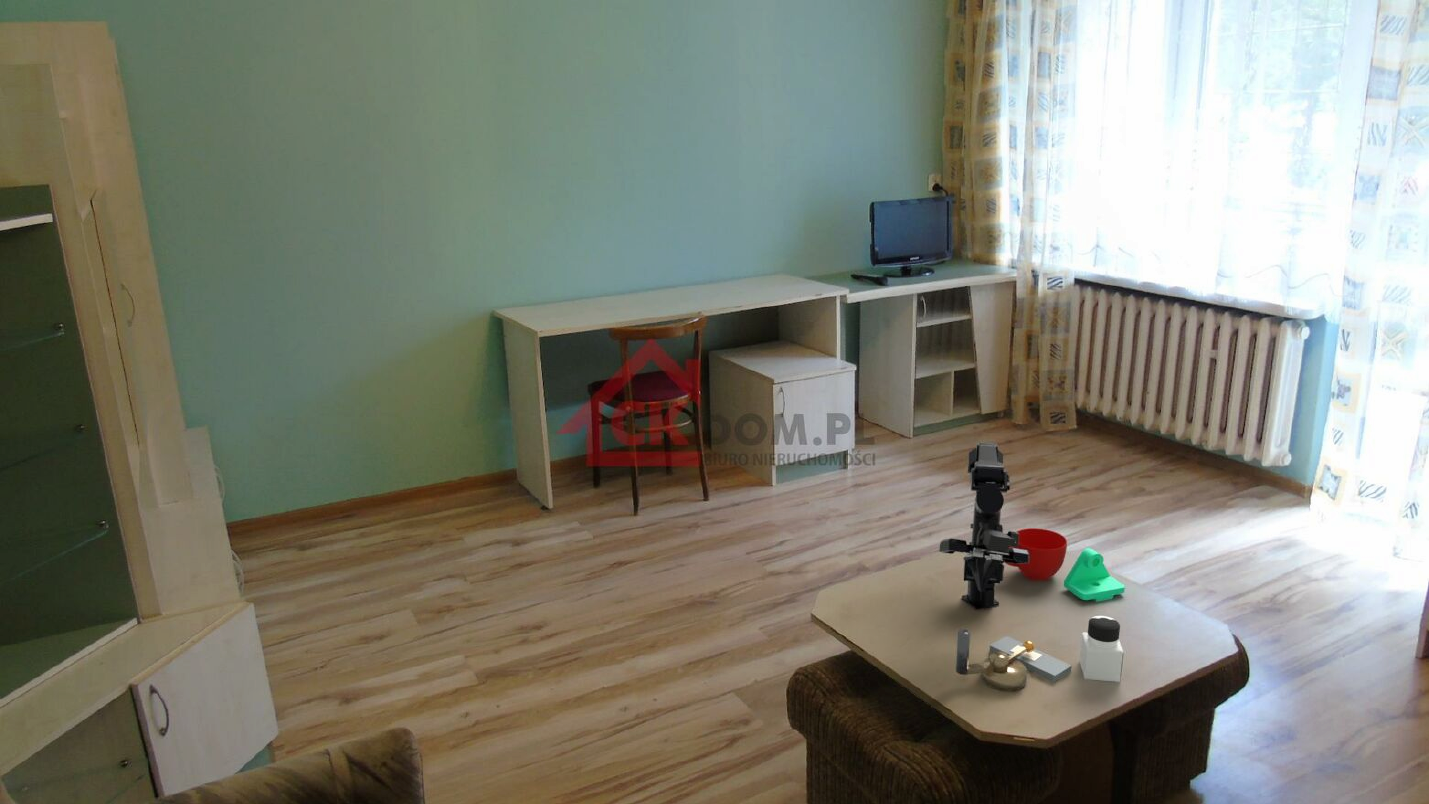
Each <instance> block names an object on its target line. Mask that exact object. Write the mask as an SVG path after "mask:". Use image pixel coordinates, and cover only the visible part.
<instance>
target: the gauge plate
mask: <svg viewBox="0 0 1429 804" xmlns="http://www.w3.org/2000/svg"><path fill="white" fill-rule="evenodd" d="M1023 644H1024V642H1022V641H1018V640H1017V639H1014V638H1013V637H1010V636H1008V635H1006V636H1004V637H1002V638H1000V639H999V640H997V641H995V642H993V643H992V644H990V645H989V652H991V653H992V652H995V651H1001V652H1004V653H1006V654H1008V656H1010V655H1011V654H1013V653H1015V652H1016V651H1018V650H1019V649H1021V648H1022V647H1023ZM1015 660H1018V661H1020V662H1021V663H1022V664H1024V665H1025V667H1026V668H1027V671H1029V672H1032V673H1034V674H1036V675H1039V676H1041V677H1042V678H1045V679H1047V680H1049V681H1051V682H1052V683H1056V682H1058V681H1059V680H1060V679H1063V678H1064V677H1065V676H1067V675H1068V674H1070V673H1072V665H1071V664H1069V663H1067V662H1065V661H1062V660H1061V659H1058V658H1056V657H1053V656H1051V655H1050V654H1047V653H1045V652H1042V651H1041V650H1039V649H1036V648H1034V650H1033V651H1032V652H1030V653H1028V652H1025V653H1024V654H1022V655H1020V656H1019V657H1017V658H1016V659H1015Z"/></svg>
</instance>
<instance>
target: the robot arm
mask: <svg viewBox="0 0 1429 804" xmlns="http://www.w3.org/2000/svg"><path fill="white" fill-rule="evenodd" d="M966 471H967V474H969V482H970V492H975V497H974V507H973V520H972V521H973V523H970V529H972V534H971V541H969V542H968V544H967V540H963V539H957V538H951V537H949V538H946V539H943V540H942V541H940V544H939V550H938V551H939V553H943V554H950V555H953V554H954V553H956V552H957V553H964V554H966V556H964V557H963V562H964V563H963V581H964V582H967V594H964V595H961V599H962V600H964V601H965V602H966V603H967V604H969V605H970V606H971V607H972V608H974V610H980V609H981V610H982V609H987V608H991V607H995V606H999V605H1000V602H999V601H998V600H996V599H995V592H996V590H995V586H996V585H995V584H999V585H1000V584H1001V583H1002V581H1004V571H1005V565H1004V563H1005V562H1007V563H1013V564H1024V563H1029V557H1030V556H1029V553H1028V552H1027V550H1022V549H1016V548H1017V547H1018V543H1019V533H1017V531H1012V530H1008V531H1007V532H1006V533H1004V531H1003V530H1004V529H1003V525H1002V524H1001V513H1002V509H1003V506H1004V503H1005V499H1004V498H1005V497H1004V494H1007V493H1008V491H1010V489H1011V488H1010V487H1011V484H1010V481H1011V480H1010V474H1008V472H1009V471H1008V470H1007V469H1005V466H1004V453H1002V452H1001V451H1000V450H999V445H998V444H996V443H993V442H991V443H989V442H979V443H976V446H975V448H974V449H972V450H971V451H969V452H968V456H967V470H966ZM1010 547H1013V548H1010Z"/></svg>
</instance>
